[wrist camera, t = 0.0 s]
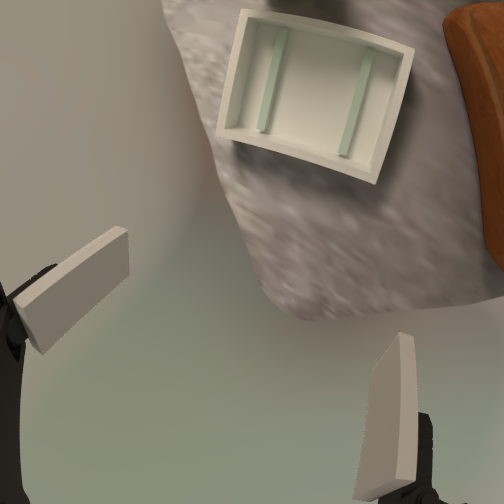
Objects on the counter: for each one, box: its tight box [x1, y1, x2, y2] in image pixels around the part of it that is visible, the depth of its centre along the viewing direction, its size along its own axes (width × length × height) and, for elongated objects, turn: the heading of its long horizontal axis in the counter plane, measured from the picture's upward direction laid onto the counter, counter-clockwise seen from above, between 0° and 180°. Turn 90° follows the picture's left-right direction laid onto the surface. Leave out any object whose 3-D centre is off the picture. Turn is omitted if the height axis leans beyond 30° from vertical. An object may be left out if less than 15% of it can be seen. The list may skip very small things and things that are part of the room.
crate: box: [215, 9, 415, 185], centre depth 30 cm, size 16×19×5 cm
